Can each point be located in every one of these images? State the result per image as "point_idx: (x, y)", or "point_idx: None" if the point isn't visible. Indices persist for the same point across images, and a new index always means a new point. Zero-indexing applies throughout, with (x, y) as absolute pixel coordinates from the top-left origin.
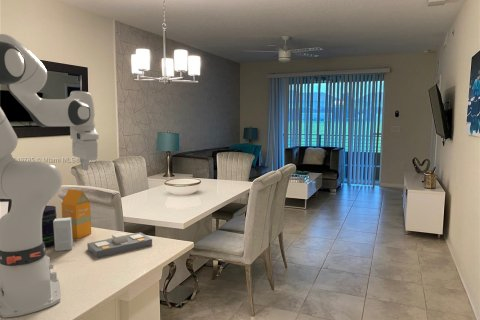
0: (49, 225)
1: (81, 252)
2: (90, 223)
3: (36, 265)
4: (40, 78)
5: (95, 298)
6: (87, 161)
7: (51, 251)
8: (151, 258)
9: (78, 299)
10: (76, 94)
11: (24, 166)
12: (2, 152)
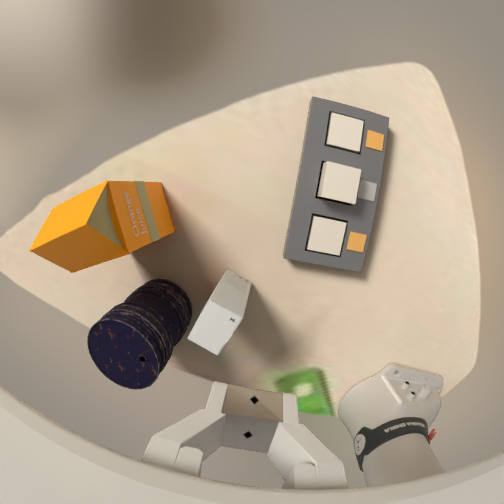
0: (172, 332)
1: (290, 274)
2: (148, 183)
3: (428, 424)
4: None
5: (471, 339)
6: (335, 474)
7: None
8: (445, 185)
9: (455, 356)
10: None
11: None
12: None
